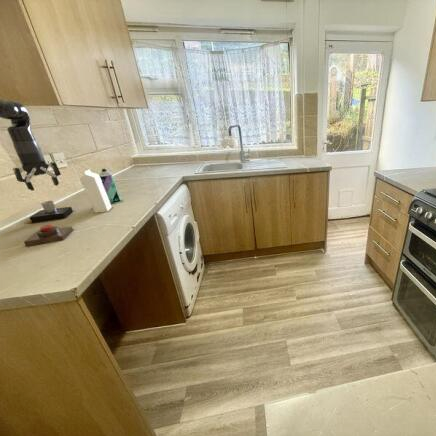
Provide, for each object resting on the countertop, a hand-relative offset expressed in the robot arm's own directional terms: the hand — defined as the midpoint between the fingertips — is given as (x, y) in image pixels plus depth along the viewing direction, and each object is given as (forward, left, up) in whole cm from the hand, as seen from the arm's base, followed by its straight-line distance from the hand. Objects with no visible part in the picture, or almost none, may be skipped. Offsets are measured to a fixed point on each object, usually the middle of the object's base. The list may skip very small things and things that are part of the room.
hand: (44, 187), depth 112 cm
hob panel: (-6, +9, -17) cm, 20 cm away
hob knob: (-6, +9, -14) cm, 18 cm away
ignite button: (+4, -20, -14) cm, 25 cm away
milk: (+16, +8, -17) cm, 25 cm away
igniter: (+4, -20, -17) cm, 27 cm away
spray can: (+19, +21, -17) cm, 33 cm away
